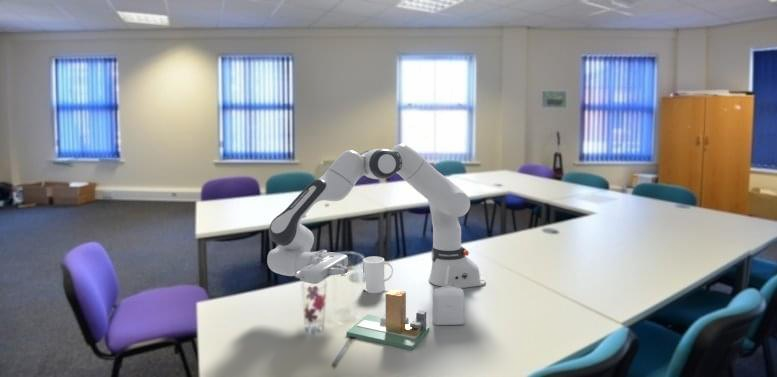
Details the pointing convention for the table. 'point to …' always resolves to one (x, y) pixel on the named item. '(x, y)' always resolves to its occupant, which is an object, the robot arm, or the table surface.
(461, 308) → the photo printer
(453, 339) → the table surface
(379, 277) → the mug
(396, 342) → the board
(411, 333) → the tall wooden block
